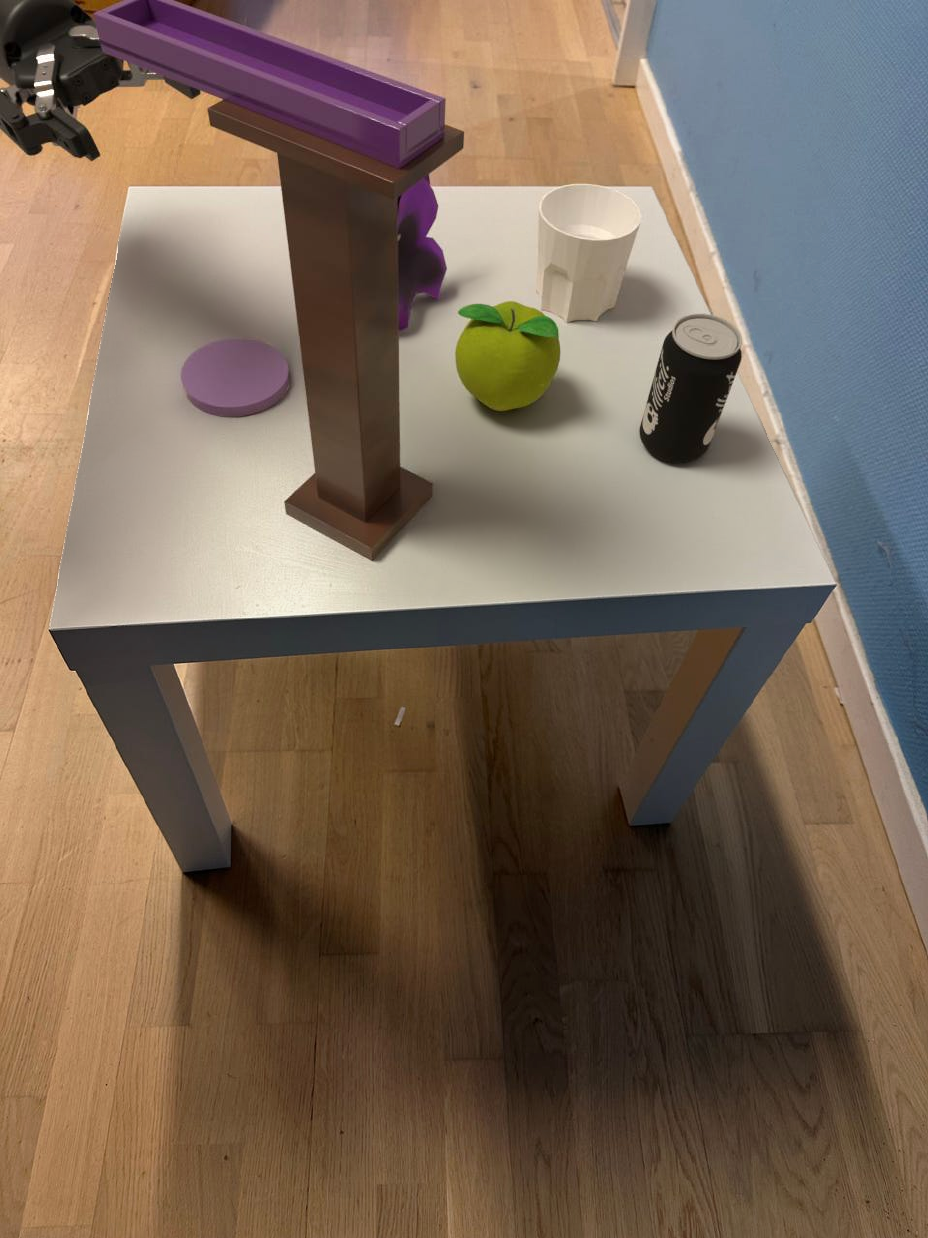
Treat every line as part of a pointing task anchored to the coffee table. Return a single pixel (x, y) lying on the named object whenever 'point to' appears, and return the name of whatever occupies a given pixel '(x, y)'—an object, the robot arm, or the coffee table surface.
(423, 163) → the brown wooden pedestal
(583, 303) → the cup
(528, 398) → the fruit
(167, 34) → the purple dish
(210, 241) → the coffee table surface
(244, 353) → the lilac plate
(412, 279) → the flower
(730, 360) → the beverage can
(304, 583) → the coffee table surface
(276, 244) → the coffee table surface
